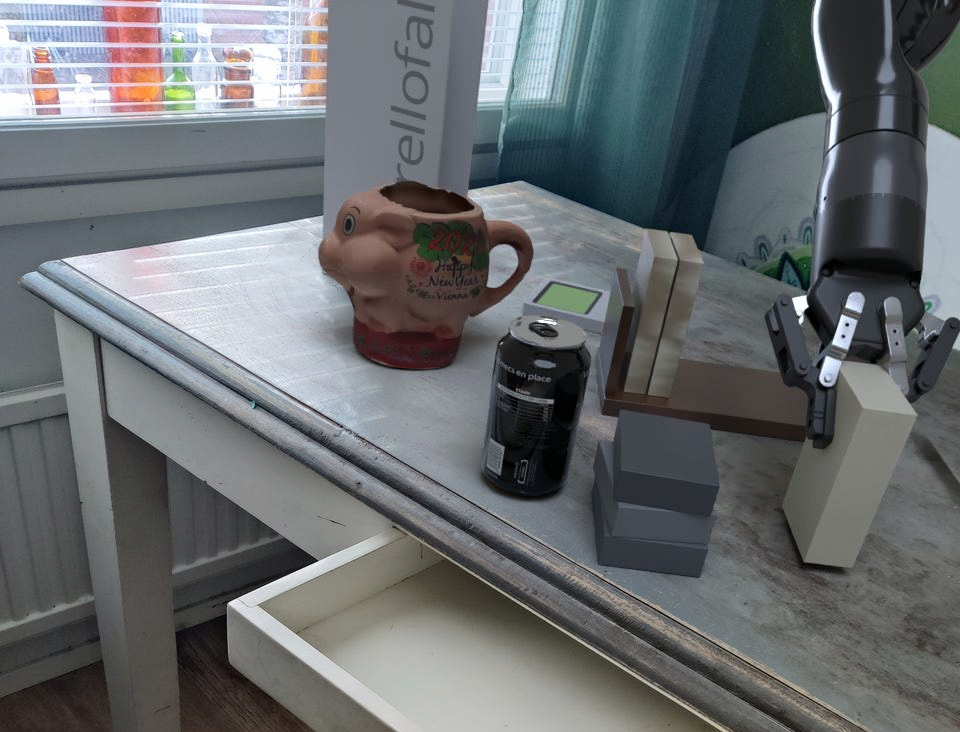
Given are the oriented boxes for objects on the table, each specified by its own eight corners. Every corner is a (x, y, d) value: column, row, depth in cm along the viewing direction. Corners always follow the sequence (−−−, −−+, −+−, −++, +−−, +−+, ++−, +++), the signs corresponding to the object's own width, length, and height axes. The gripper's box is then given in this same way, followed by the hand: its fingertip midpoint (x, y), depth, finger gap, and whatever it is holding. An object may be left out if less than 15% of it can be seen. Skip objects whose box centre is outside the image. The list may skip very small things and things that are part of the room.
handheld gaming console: (661, 332, 101) (522, 299, 104) (657, 347, 102) (520, 314, 105) (675, 303, 109) (546, 273, 112) (672, 317, 110) (544, 287, 113)
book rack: (832, 394, 98) (883, 256, 90) (864, 449, 89) (924, 301, 80) (594, 361, 97) (624, 219, 89) (601, 414, 88) (634, 260, 79)
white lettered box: (321, 272, 107) (329, -63, 89) (354, 263, 111) (368, -61, 93) (425, 312, 102) (456, -36, 83) (456, 300, 106) (492, -35, 87)
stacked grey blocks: (684, 504, 77) (708, 420, 72) (701, 578, 69) (730, 488, 64) (586, 491, 76) (604, 406, 72) (592, 564, 68) (613, 472, 64)
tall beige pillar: (826, 511, 77) (883, 365, 70) (852, 568, 71) (918, 414, 63) (781, 505, 77) (833, 358, 69) (803, 562, 71) (863, 407, 63)
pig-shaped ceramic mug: (489, 321, 102) (508, 178, 94) (541, 370, 94) (567, 218, 85) (300, 329, 94) (302, 173, 86) (339, 383, 86) (346, 217, 77)
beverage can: (533, 453, 80) (558, 308, 73) (583, 493, 76) (615, 344, 69) (462, 467, 77) (481, 316, 69) (510, 510, 73) (536, 355, 65)
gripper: (791, 175, 67) (771, 418, 65) (994, 204, 67) (981, 446, 65) (755, 233, 74) (736, 453, 72) (938, 258, 75) (924, 477, 73)
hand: (852, 448), depth 69 cm, fingers closed on tall beige pillar, 3 cm apart
